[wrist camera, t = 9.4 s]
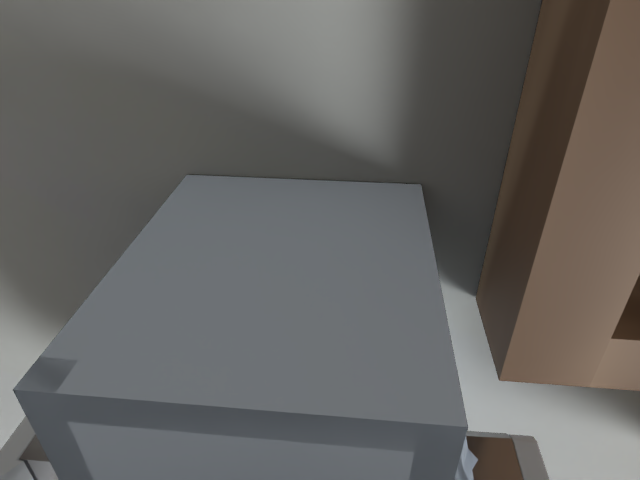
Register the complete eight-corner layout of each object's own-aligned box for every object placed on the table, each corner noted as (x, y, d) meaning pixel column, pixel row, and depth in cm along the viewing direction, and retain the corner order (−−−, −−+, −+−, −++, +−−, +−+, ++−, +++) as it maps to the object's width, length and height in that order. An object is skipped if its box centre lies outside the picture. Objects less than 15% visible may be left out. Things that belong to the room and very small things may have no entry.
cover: (420, 184, 12) (483, 509, 5) (391, 418, 17) (403, 744, 10) (186, 174, 12) (-43, 457, 6) (224, 404, 17) (126, 705, 10)
